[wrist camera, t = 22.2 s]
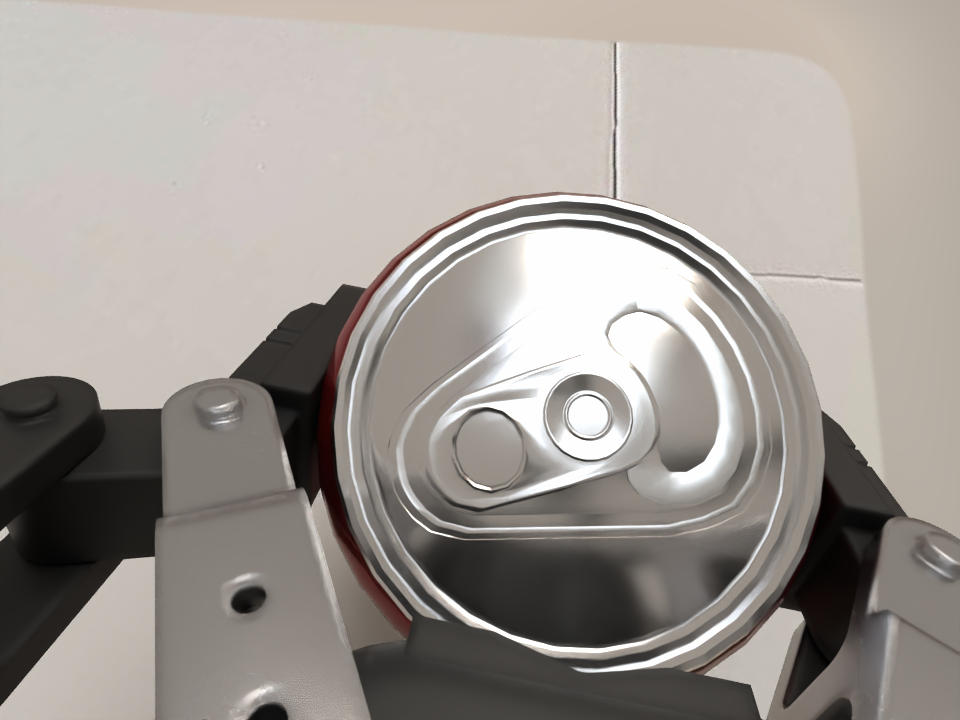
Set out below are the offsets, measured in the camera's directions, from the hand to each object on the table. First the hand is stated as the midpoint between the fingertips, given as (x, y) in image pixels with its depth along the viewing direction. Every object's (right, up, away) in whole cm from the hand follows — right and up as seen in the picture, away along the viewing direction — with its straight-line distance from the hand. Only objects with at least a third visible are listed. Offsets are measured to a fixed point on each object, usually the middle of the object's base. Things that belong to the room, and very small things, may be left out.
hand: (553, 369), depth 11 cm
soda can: (-1, -3, +8) cm, 9 cm away
